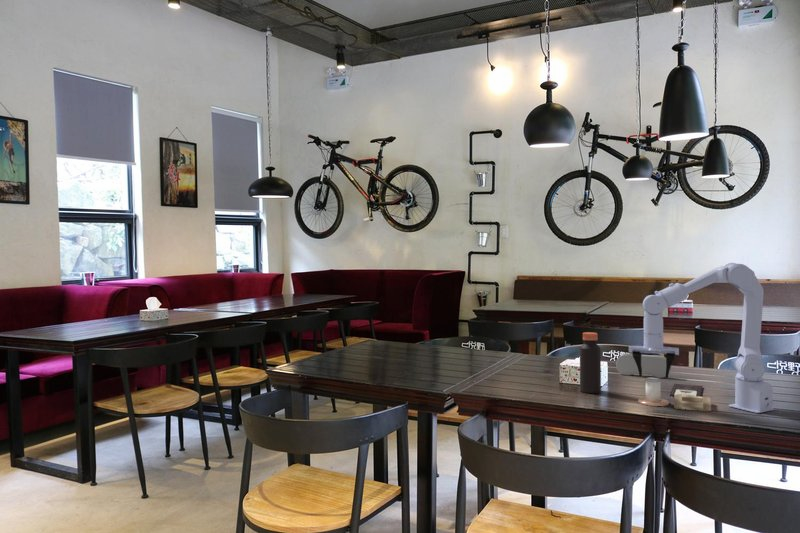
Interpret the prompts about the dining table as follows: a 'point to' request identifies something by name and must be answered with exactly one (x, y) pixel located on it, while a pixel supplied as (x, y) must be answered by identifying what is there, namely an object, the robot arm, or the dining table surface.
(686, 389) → the chocolate bar
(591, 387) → the bottle
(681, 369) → the dining table surface
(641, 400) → the terracotta saucer
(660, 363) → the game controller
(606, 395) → the dining table surface
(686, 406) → the birch holder
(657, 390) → the light gray cylinder
